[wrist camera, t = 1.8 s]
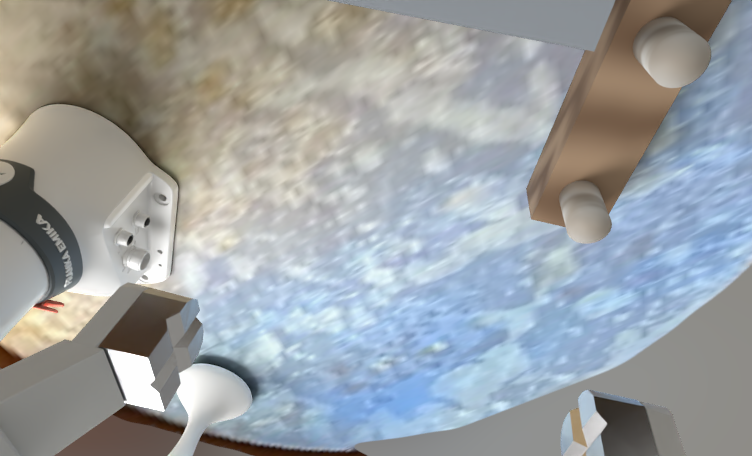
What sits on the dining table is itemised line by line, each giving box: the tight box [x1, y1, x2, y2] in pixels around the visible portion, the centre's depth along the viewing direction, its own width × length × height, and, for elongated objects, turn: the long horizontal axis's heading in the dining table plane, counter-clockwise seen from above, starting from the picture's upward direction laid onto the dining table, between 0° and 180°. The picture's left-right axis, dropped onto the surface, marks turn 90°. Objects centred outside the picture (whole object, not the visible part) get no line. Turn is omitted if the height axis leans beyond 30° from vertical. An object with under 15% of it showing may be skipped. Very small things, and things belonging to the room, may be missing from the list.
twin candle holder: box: [526, 0, 731, 243], centre depth 34 cm, size 18×6×9 cm, turn 171°
